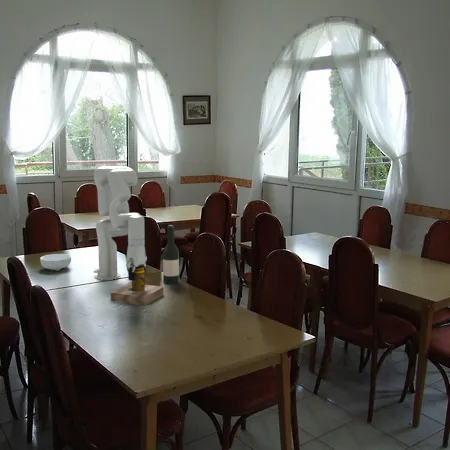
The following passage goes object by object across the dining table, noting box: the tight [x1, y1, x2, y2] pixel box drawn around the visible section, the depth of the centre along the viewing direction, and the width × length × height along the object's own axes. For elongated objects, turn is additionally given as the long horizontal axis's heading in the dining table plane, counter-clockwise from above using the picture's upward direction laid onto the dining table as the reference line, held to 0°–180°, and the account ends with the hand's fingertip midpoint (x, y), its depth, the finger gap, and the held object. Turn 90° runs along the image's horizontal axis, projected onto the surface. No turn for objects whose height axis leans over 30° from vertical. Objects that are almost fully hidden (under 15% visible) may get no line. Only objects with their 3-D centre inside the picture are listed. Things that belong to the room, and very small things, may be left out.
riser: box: [109, 282, 164, 306], centre depth 261 cm, size 18×18×4 cm
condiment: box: [126, 264, 147, 293], centre depth 260 cm, size 7×8×12 cm
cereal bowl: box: [39, 253, 72, 270], centre depth 315 cm, size 17×17×7 cm
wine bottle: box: [162, 224, 180, 285], centre depth 287 cm, size 8×8×30 cm
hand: (137, 277), depth 260 cm, fingers open, 9 cm apart
